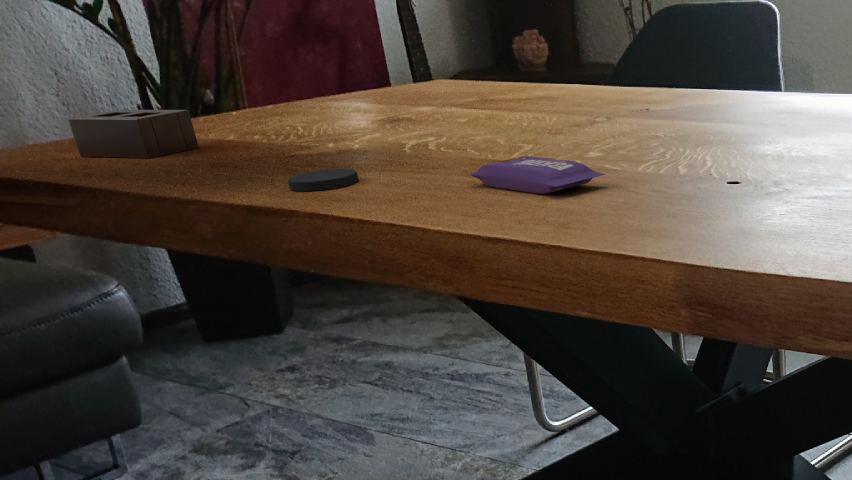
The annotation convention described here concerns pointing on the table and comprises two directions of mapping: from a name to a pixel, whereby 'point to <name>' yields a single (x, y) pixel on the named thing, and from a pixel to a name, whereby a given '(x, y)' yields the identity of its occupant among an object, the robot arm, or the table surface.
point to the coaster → (323, 180)
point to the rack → (134, 133)
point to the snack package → (535, 174)
